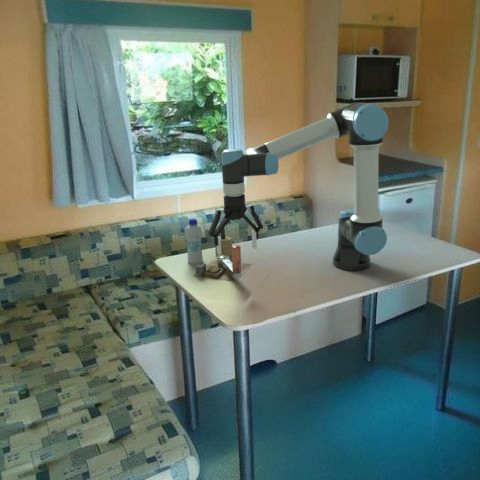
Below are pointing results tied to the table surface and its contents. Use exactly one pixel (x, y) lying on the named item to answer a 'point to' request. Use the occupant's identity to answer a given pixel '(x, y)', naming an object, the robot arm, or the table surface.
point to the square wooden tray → (222, 274)
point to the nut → (213, 268)
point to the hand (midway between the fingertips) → (237, 250)
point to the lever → (233, 266)
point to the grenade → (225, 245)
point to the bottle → (194, 242)
